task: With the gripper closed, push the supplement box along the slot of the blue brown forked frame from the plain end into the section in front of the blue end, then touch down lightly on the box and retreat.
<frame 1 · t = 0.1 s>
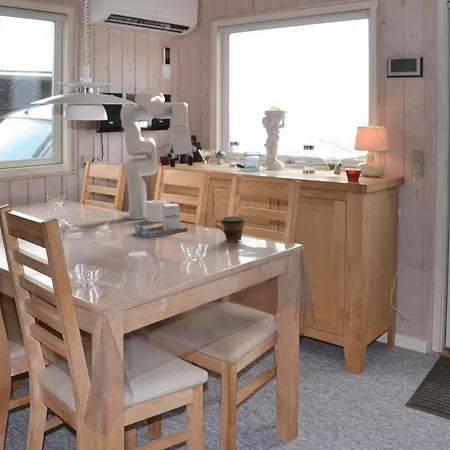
hand: (181, 166, 290), 31 cm above the table, tool pointing down, fingers open, 9 cm apart
blue brown forked frame: (161, 231, 295), on the table
supplement box: (171, 230, 298), resting in blue brown forked frame
toilet tissue: (157, 220, 324), on the table
ceramic cup: (230, 241, 275), on the table
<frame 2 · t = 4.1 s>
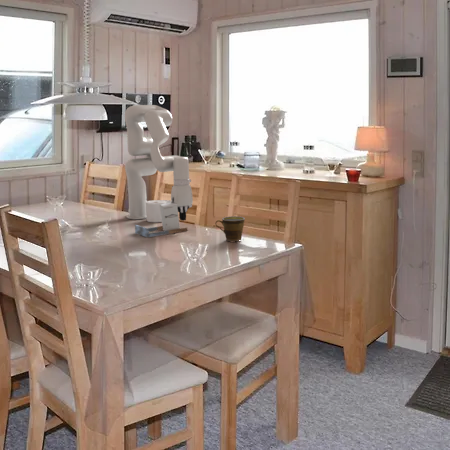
hand: (182, 220, 301), 4 cm above the table, tool pointing down, fingers closed
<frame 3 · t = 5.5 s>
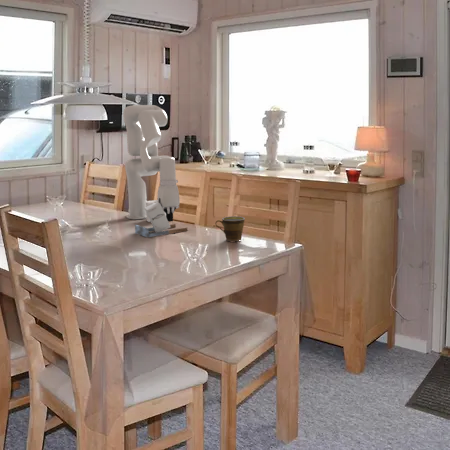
hand: (169, 221, 296), 5 cm above the table, tool pointing down, fingers closed
supplement box: (163, 229, 295), point 1 cm above the table, touching gripper
everything else where it was.
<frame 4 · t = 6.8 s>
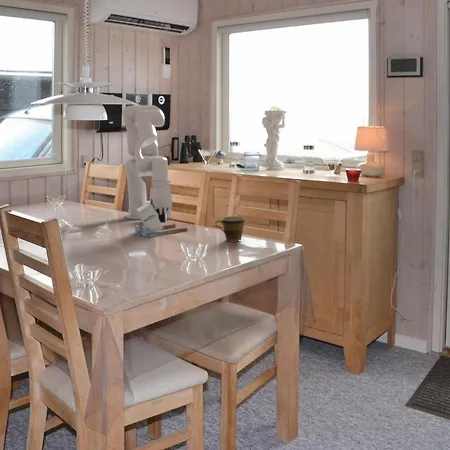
hand: (162, 222, 293), 5 cm above the table, tool pointing down, fingers closed
supplement box: (155, 230, 292), point 1 cm above the table, touching gripper
everything else where it was.
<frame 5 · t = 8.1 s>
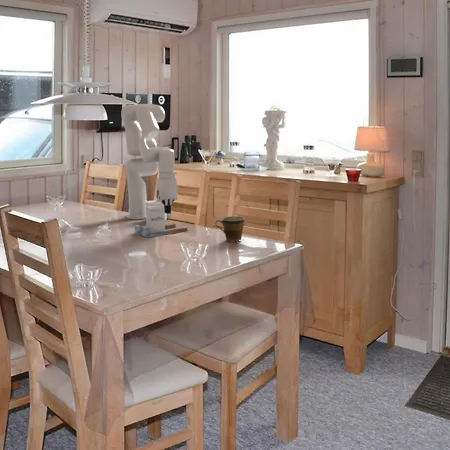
hand: (167, 213, 297), 9 cm above the table, tool pointing down, fingers closed
supplement box: (156, 233, 293), resting in blue brown forked frame
everything else where it was.
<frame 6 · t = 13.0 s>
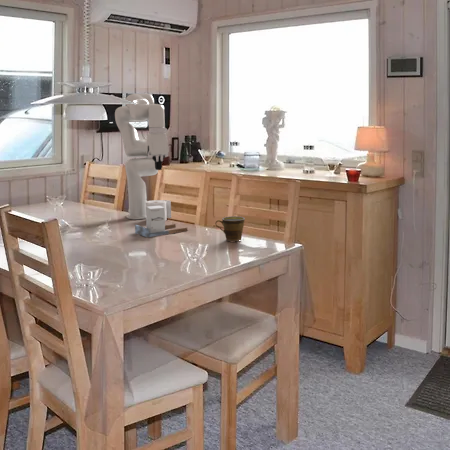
hand: (158, 169, 296), 29 cm above the table, tool pointing down, fingers closed
nothing on the table moved.
at the end: supplement box inside the target area on the blue brown forked frame (2.0 cm from its centre), point 0.0 cm above the blue brown forked frame's base; supplement box tilted 0°; supplement box moved 8.9 cm from its start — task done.
